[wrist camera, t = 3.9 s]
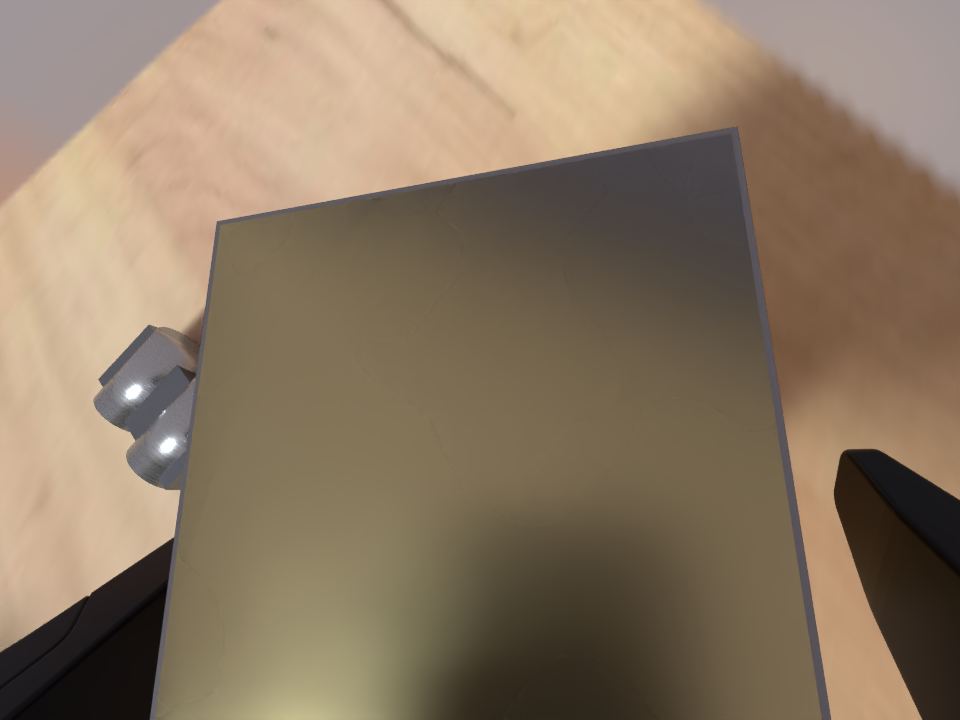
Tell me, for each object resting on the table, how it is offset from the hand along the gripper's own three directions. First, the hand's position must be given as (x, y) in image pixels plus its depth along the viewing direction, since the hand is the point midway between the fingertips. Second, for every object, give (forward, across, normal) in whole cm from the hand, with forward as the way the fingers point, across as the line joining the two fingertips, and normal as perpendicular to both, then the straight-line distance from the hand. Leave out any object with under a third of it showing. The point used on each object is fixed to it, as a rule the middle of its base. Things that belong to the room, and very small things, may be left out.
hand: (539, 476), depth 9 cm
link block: (+6, 0, +6) cm, 8 cm away
